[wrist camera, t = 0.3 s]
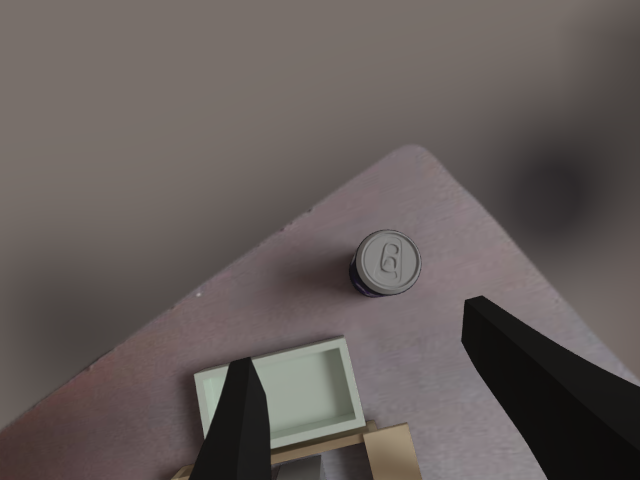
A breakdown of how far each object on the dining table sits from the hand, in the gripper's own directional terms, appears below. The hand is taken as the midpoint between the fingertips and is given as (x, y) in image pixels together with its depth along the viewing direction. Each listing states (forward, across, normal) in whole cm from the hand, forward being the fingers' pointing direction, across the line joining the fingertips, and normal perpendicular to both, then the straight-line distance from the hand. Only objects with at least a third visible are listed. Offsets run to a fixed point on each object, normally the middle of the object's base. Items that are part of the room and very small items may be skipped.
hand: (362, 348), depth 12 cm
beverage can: (+24, -7, +17) cm, 30 cm away
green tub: (+17, +6, +25) cm, 31 cm away
